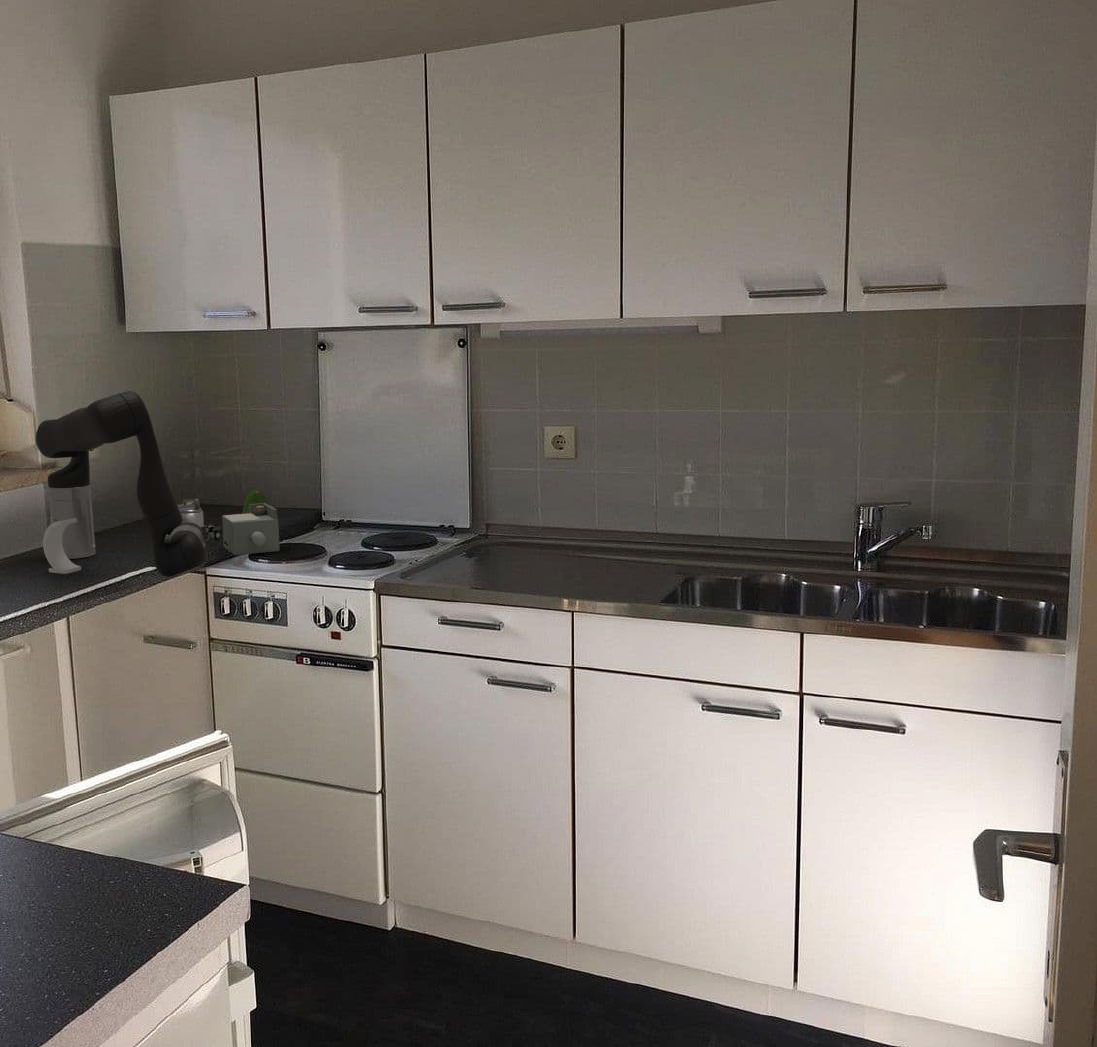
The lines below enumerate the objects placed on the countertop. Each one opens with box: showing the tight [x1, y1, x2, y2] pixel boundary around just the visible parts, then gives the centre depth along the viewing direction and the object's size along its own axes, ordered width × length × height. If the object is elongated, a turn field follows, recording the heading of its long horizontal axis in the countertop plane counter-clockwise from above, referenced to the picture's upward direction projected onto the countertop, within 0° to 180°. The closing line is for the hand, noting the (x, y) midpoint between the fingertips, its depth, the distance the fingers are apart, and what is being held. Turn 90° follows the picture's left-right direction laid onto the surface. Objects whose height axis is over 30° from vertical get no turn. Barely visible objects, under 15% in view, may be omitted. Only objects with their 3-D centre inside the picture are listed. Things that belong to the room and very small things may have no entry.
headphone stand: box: [42, 518, 82, 575], centre depth 241 cm, size 5×6×12 cm
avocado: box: [241, 489, 271, 514], centre depth 284 cm, size 8×8×12 cm
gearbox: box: [221, 503, 281, 556], centre depth 264 cm, size 11×15×10 cm
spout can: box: [180, 498, 206, 549], centre depth 255 cm, size 6×6×14 cm
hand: (192, 528), depth 257 cm, fingers open, 8 cm apart
